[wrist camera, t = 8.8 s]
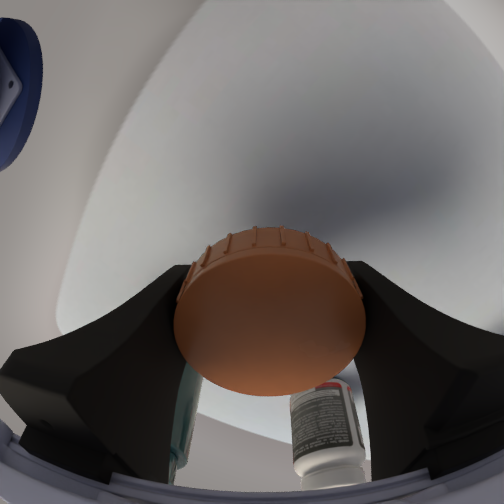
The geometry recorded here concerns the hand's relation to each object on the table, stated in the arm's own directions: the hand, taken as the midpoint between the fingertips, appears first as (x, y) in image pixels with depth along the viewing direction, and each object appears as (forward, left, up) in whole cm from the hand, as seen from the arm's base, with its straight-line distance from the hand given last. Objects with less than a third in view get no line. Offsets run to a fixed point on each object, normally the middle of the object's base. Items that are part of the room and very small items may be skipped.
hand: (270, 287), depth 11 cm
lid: (0, 0, +2) cm, 2 cm away
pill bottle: (+13, -4, -5) cm, 14 cm away
